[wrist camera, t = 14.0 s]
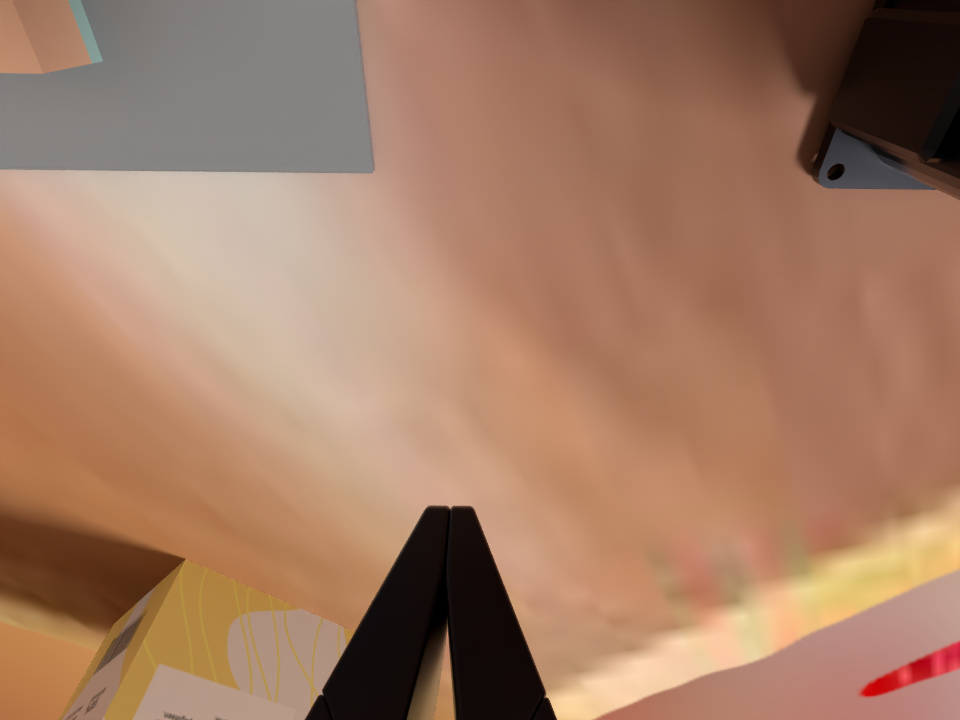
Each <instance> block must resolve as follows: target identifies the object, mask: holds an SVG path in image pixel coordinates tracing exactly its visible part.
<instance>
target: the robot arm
mask: <svg viewBox="0 0 960 720" xmlns="http://www.w3.org/2000/svg"><path fill="white" fill-rule="evenodd" d="M829 118H830V124H829V127H828V129H827V132H826V135H825V137H824V140H823V143H822V145H821V148H820V150H819V153H818V156H817V158H816V161H815V164H814V166H813V170H812V177H813V180H814V181H815V182H816V183H818V184H819V185H821V186H823V187H825V188H837V189H928V190H939V191H941V192H944V193H946V194H948V195H950V196H952V197H955V198H957V199H959V200H960V0H876V3H875V5H874V8H873V11H872V13H871V15H869V16H868V17H867V18H866V20H865V22H864V24H863V27H862V29H861V32H860V35H859V37H858V40H857V43H856V45H855V48H854V51H853V53H852V56H851V59H850V61H849V64H848V67H847V69H846V72H845V75H844V77H843V80H842V83H841V85H840V88H839V91H838V93H837V96H836V99H835V101H834V104H833V107H832V109H831V112H830V115H829ZM835 164H838V166H837V169H836V171H835V172H834V173H833V174H832V175H830V176H827V172H828V170H829V169H830V167H832V166H833V165H835ZM447 627H448V635H449V651H450V664H451V678H452V691H453V705H454V718H455V720H557V718H556V716H555V713H554V711H553V708H552V705H551V703H550V700H549V699H548V698H547V697H546V691H545V688H544V686H543V683H542V681H541V678H540V676H539V673H538V670H537V668H536V665H535V663H534V660H533V658H532V655H531V653H530V650H529V647H528V645H527V642H526V640H525V637H524V635H523V632H522V630H521V627H520V625H519V622H518V619H517V617H516V614H515V612H514V609H513V607H512V604H511V602H510V599H509V596H508V594H507V591H506V589H505V586H504V584H503V581H502V579H501V576H500V573H499V571H498V568H497V566H496V563H495V561H494V558H493V556H492V553H491V551H490V548H489V545H488V543H487V540H486V538H485V535H484V533H483V530H482V528H481V525H480V522H479V520H478V517H477V515H476V512H475V510H474V508H473V507H471V506H453V507H451V509H450V508H449V507H448V506H428V507H427V508H426V509H425V510H424V512H423V514H422V515H421V517H420V519H419V521H418V522H417V524H416V526H415V528H414V529H413V531H412V533H411V535H410V536H409V538H408V540H407V542H406V543H405V545H404V547H403V549H402V550H401V552H400V554H399V556H398V557H397V559H396V561H395V563H394V564H393V566H392V568H391V570H390V571H389V573H388V575H387V577H386V578H385V580H384V582H383V584H382V585H381V587H380V589H379V591H378V592H377V594H376V596H375V598H374V599H373V601H372V603H371V605H370V606H369V608H368V610H367V612H366V613H365V615H364V617H363V619H362V620H361V622H360V624H359V626H358V627H357V629H356V631H355V633H354V634H353V636H352V638H351V640H350V641H349V643H348V645H347V647H346V648H345V650H344V652H343V654H342V655H341V657H340V659H339V661H338V662H337V664H336V666H335V668H334V669H333V671H332V673H331V675H330V676H329V678H328V680H327V682H326V683H325V685H324V687H323V689H322V693H323V695H319V696H318V697H317V699H316V700H315V702H314V704H313V706H312V707H311V709H310V711H309V713H308V714H307V716H306V718H305V720H434V715H435V708H436V702H437V695H438V689H439V683H440V676H441V670H442V663H443V657H444V650H445V644H446V636H447Z"/></svg>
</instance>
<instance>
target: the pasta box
mask: <svg viewBox="0 0 960 720" xmlns="http://www.w3.org/2000/svg"><path fill="white" fill-rule="evenodd" d="M354 633H355V632H354V631H352V630H349V629H347V628H345V627H342V626H340V625H338V624H336V623H333V622H331V621H329V620H326V619H324V618H322V617H319V616H317V615H315V614H312V613H310V612H308V611H305V610H303V609H301V608H299V607H296V606H294V605H292V604H289V603H287V602H285V601H282V600H280V599H278V598H275V597H273V596H271V595H268V594H266V593H264V592H262V591H259V590H257V589H255V588H252V587H250V586H248V585H245V584H243V583H241V582H238V581H236V580H234V579H231V578H229V577H227V576H225V575H222V574H220V573H218V572H215V571H213V570H211V569H208V568H206V567H204V566H201V565H199V564H197V563H194V562H192V561H190V560H187V559H185V560H184V561H183V562H182V563H181V564H180V565H179V566H177V567H176V568H175V569H174V570H173V571H172V572H171V573H170V574H169V575H167V576H166V577H165V578H164V579H163V580H162V581H161V582H160V583H159V584H158V585H156V586H155V587H154V588H153V589H152V590H151V591H150V592H149V593H148V594H146V595H145V596H144V597H143V598H142V599H141V600H140V601H139V602H138V603H136V604H135V605H134V606H133V607H132V608H131V609H130V610H129V611H128V612H126V613H125V614H124V615H123V616H122V617H121V618H120V619H119V620H118V621H116V622H115V623H114V624H113V626H112V628H111V630H110V631H109V633H108V635H107V636H106V638H105V640H104V642H103V643H102V645H101V647H100V648H99V650H98V652H97V654H96V655H95V657H94V659H93V661H92V662H91V664H90V666H89V668H88V669H87V671H86V673H85V674H84V676H83V678H82V679H81V682H80V683H79V685H78V686H77V688H76V690H75V692H74V693H73V695H72V697H71V698H70V700H69V702H68V704H67V705H66V707H65V709H64V711H63V712H62V714H61V716H60V717H59V719H58V720H305V718H306V716H307V714H308V713H309V711H310V709H311V707H312V706H313V704H314V702H315V700H316V699H317V697H318V696H319V695H323V693H322V689H323V687H324V685H325V683H326V682H327V680H328V678H329V676H330V675H331V673H332V671H333V669H334V668H335V666H336V664H337V662H338V661H339V659H340V657H341V655H342V654H343V652H344V650H345V648H346V647H347V645H348V643H349V641H350V640H351V638H352V636H353V634H354Z"/></svg>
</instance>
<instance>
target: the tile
mask: <svg viewBox="0 0 960 720" xmlns="http://www.w3.org/2000/svg"><path fill="white" fill-rule="evenodd" d="M102 61H103V60H102V57H101V54H100V51H99V49H98V46H97V43H96V41H95V38H94V35H93V32H92V30H91V27H90V24H89V21H88V19H87V16H86V13H85V11H84V8H83V5H82V2H81V0H0V73H31V74H44V73H49V72H54V71H59V70H64V69H69V68H73V67H78V66H83V65H88V64H93V63H98V62H102Z"/></svg>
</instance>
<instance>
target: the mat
mask: <svg viewBox="0 0 960 720" xmlns="http://www.w3.org/2000/svg"><path fill="white" fill-rule="evenodd" d="M81 2H82V5H83V8H84V11H85V13H86V16H87V19H88V21H89V24H90V27H91V30H92V32H93V35H94V38H95V41H96V43H97V46H98V49H99V51H100V54H101V57H102V60H103V61H102V62H98V63H93V64H88V65H83V66H78V67H73V68H69V69H64V70H59V71H54V72H49V73H44V74H31V73H0V169H19V170H111V171H203V172H295V173H373V171H374V170H375V168H374V159H373V150H372V141H371V132H370V123H369V114H368V105H367V96H366V87H365V78H364V69H363V60H362V51H361V41H360V32H359V23H358V14H357V5H356V0H81Z"/></svg>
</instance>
